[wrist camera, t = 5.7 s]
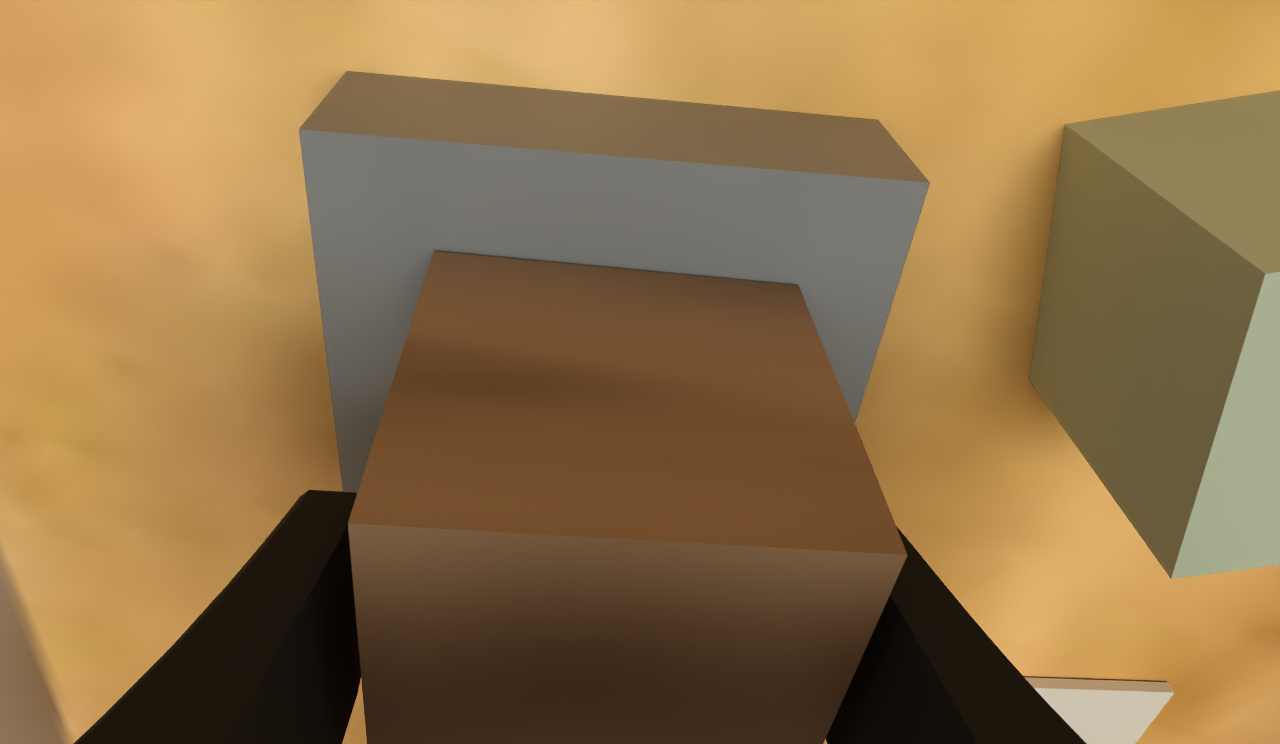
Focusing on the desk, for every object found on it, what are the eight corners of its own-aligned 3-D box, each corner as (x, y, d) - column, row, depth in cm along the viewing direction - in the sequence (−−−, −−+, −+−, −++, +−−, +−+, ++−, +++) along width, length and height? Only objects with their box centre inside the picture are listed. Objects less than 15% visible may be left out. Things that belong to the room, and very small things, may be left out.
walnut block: (730, 537, 15) (784, 830, 11) (435, 519, 14) (374, 824, 10) (799, 285, 12) (907, 555, 8) (433, 251, 11) (348, 523, 7)
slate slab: (772, 483, 18) (801, 594, 16) (387, 464, 17) (353, 578, 15) (868, 109, 14) (929, 182, 11) (354, 61, 13) (299, 129, 10)
